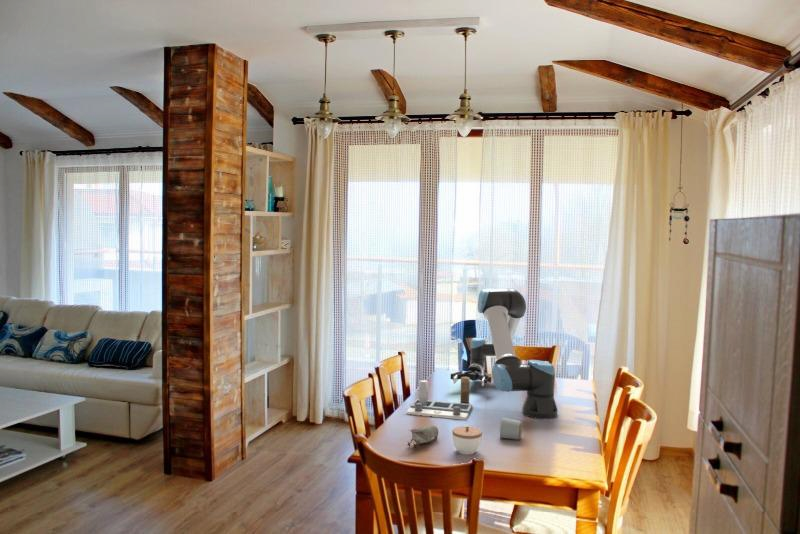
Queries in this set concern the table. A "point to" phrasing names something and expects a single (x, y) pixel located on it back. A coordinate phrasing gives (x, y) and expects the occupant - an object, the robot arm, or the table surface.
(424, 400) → the pin board
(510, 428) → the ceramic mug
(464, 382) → the walnut pin
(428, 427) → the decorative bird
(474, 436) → the lidded jar
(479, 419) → the table surface
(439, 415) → the plaque
